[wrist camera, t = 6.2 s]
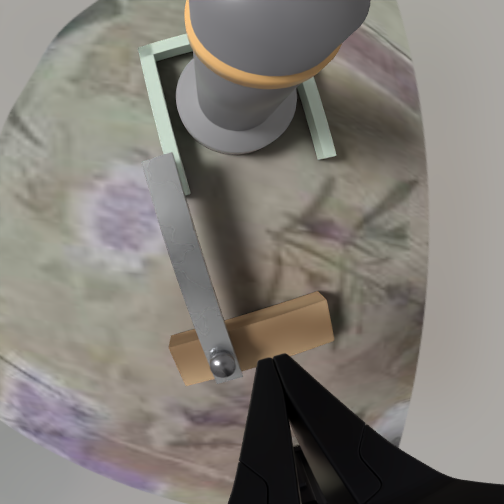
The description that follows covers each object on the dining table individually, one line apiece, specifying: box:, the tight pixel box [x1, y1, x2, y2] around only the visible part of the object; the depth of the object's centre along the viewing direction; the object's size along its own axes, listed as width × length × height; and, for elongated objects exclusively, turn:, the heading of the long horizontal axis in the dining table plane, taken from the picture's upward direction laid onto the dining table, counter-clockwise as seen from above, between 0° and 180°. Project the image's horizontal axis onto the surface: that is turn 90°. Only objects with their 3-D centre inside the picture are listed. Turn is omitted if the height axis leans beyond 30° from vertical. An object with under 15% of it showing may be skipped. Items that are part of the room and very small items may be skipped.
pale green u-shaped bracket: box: [138, 34, 336, 195], centre depth 17 cm, size 10×10×1 cm
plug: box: [176, 0, 370, 155], centre depth 12 cm, size 7×7×13 cm
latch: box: [142, 152, 243, 384], centre depth 17 cm, size 13×2×2 cm, turn 16°
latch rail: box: [169, 291, 334, 386], centre depth 20 cm, size 3×10×2 cm, turn 106°
